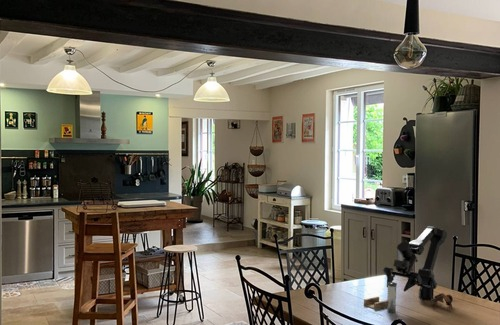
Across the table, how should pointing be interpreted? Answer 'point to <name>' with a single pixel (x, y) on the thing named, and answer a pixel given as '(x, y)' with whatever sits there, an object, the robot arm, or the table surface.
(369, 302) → the slot block
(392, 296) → the pin
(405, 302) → the table surface
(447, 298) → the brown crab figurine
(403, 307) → the table surface
